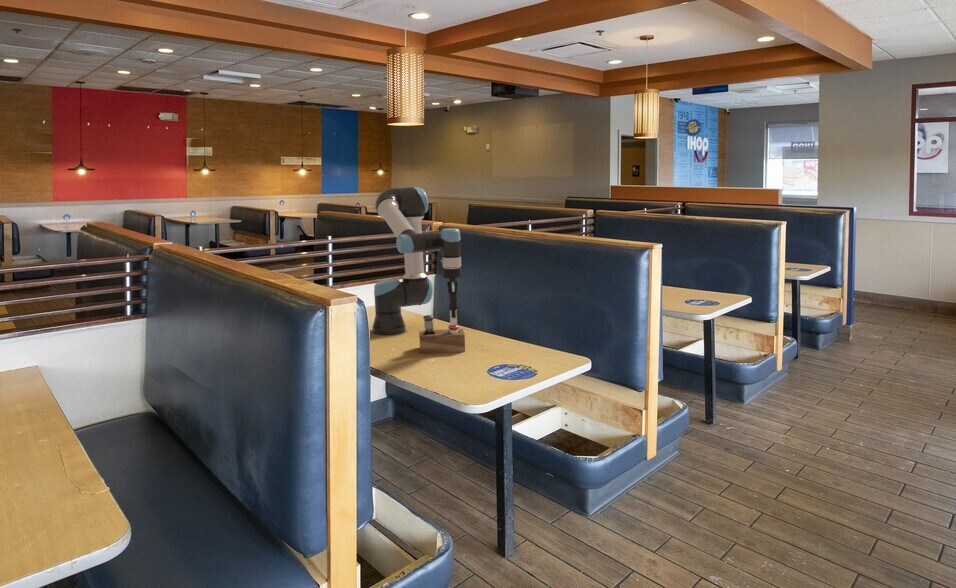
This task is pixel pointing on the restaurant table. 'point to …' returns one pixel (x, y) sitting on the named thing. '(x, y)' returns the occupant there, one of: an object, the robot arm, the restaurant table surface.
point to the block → (442, 342)
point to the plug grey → (428, 324)
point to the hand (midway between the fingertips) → (453, 325)
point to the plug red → (453, 329)
